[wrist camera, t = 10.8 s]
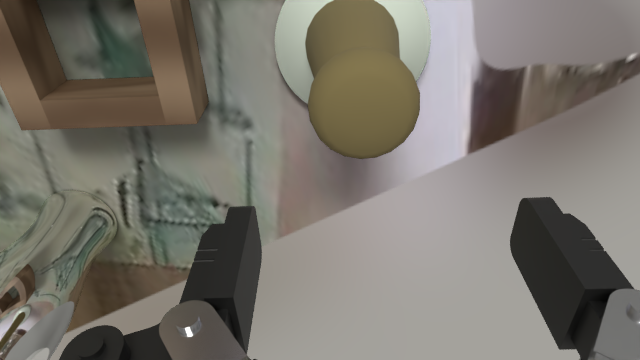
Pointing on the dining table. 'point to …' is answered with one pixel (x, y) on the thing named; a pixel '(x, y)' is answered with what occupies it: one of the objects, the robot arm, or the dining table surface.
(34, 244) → the beer glass
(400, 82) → the olive pawn
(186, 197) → the dining table surface
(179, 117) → the frame
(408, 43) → the coaster
